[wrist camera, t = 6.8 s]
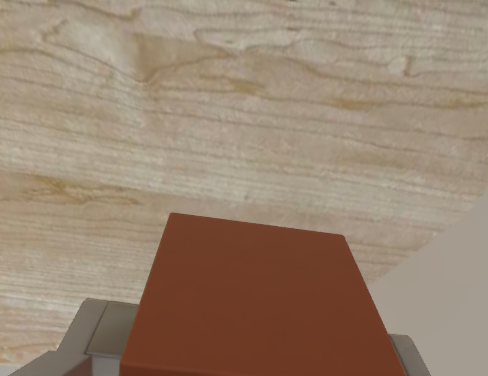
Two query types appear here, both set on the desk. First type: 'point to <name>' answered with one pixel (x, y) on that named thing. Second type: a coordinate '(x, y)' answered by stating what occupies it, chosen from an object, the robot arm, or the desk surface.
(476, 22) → the desk surface
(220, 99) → the desk surface
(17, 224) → the desk surface
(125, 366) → the block
